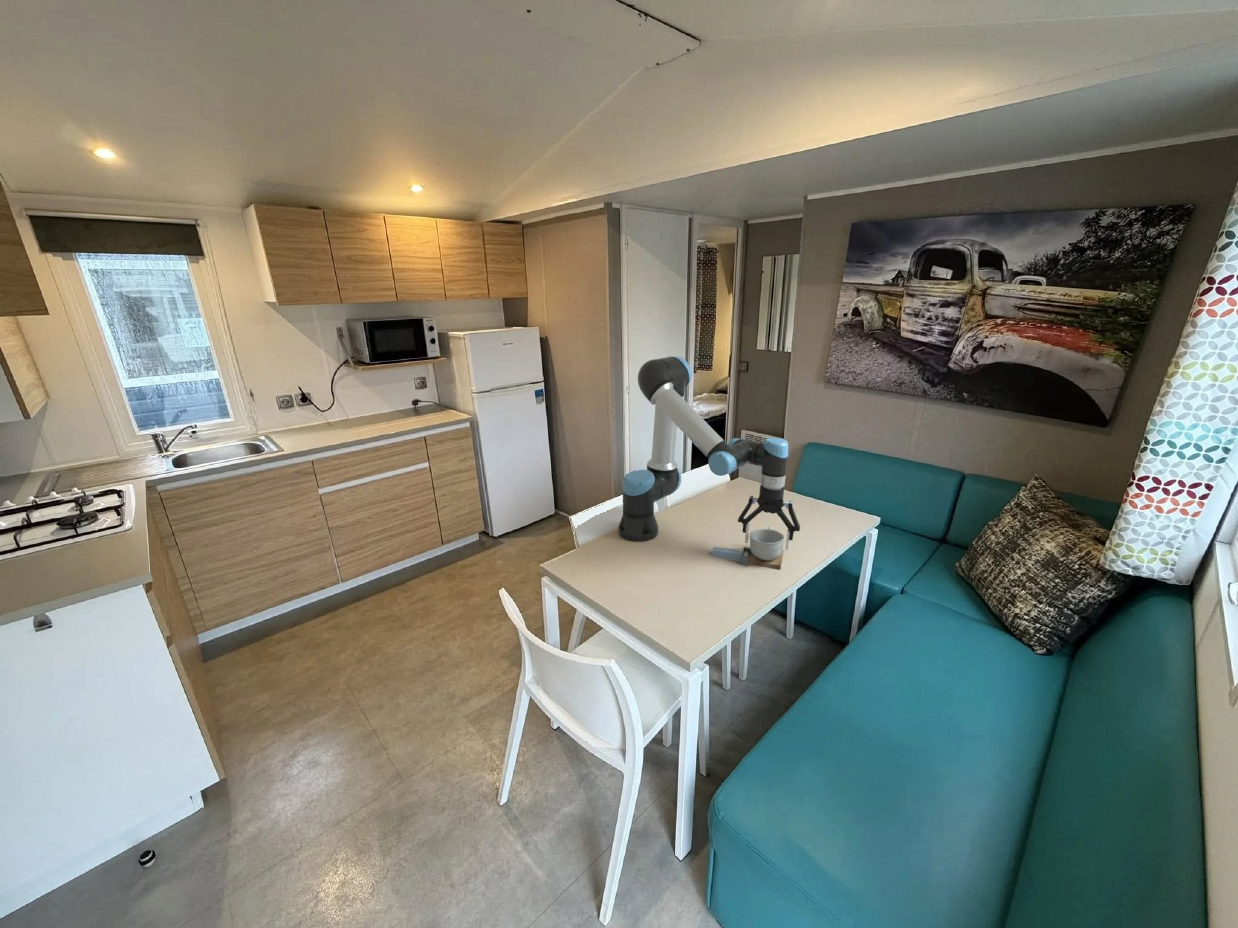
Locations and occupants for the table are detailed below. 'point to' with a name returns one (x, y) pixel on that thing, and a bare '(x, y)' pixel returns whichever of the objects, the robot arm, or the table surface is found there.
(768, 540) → the teacup
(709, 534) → the table surface
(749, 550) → the hinge cheek
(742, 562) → the hinge cheek
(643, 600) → the table surface
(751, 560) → the board
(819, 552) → the table surface
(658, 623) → the table surface
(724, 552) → the leg
